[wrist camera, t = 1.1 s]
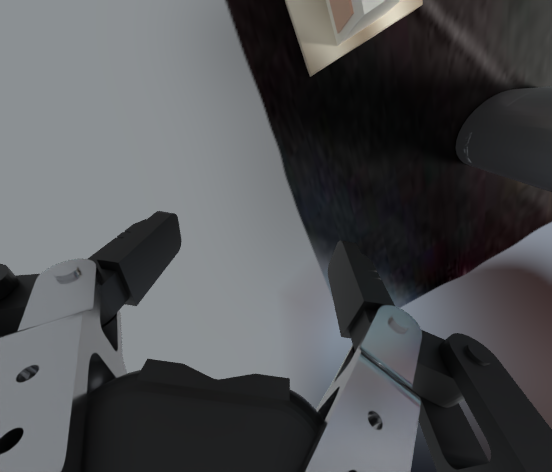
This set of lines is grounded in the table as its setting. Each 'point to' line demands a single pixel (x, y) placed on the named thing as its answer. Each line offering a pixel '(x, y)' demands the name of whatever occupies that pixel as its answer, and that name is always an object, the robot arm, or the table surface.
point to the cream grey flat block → (320, 36)
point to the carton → (355, 15)
